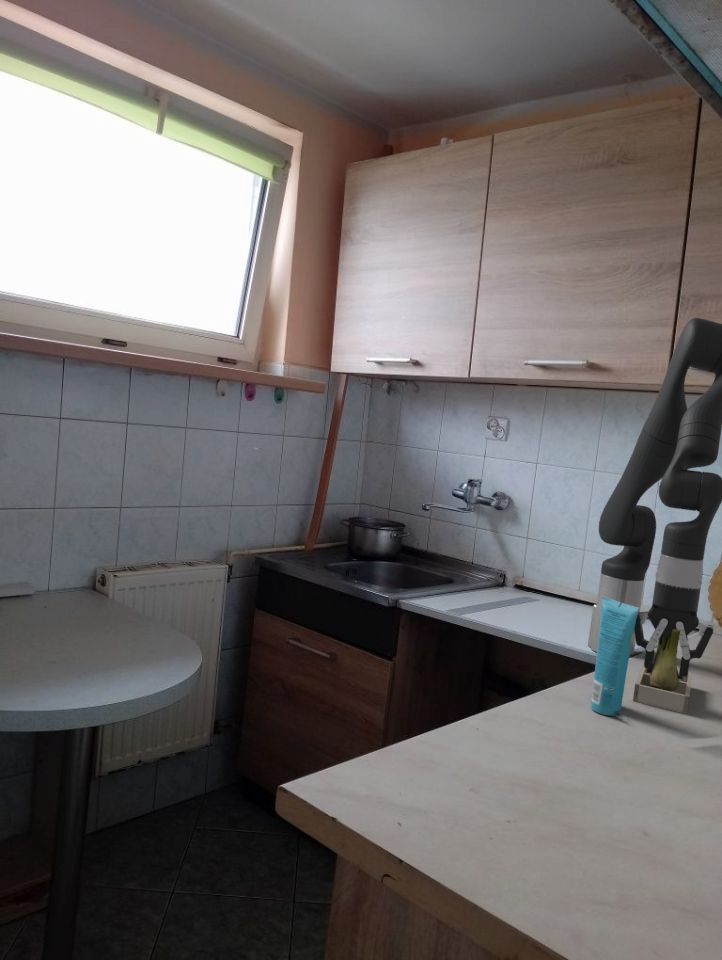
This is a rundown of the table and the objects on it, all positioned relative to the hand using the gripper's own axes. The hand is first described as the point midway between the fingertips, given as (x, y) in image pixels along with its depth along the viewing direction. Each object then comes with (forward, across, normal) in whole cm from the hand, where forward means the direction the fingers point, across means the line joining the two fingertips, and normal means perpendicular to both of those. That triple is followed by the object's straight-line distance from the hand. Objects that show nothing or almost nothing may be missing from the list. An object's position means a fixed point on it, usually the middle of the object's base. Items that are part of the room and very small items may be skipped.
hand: (664, 674), depth 136 cm
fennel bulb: (+3, 0, 0) cm, 3 cm away
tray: (+6, 0, -4) cm, 7 cm away
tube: (+6, +8, +11) cm, 15 cm away
